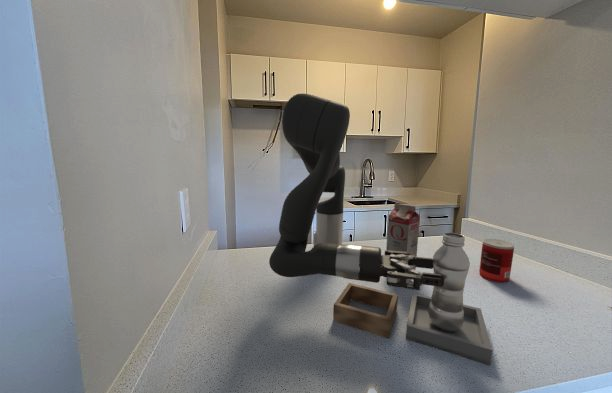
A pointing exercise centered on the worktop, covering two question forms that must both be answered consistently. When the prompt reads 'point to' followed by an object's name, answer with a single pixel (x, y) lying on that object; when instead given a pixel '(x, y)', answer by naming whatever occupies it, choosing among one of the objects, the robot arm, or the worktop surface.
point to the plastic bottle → (449, 283)
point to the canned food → (496, 260)
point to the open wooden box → (365, 318)
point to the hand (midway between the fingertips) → (438, 271)
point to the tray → (463, 342)
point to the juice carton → (403, 229)
